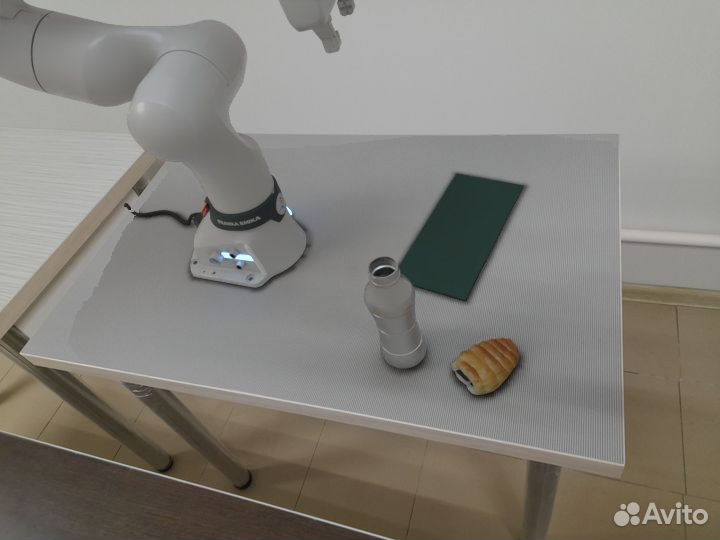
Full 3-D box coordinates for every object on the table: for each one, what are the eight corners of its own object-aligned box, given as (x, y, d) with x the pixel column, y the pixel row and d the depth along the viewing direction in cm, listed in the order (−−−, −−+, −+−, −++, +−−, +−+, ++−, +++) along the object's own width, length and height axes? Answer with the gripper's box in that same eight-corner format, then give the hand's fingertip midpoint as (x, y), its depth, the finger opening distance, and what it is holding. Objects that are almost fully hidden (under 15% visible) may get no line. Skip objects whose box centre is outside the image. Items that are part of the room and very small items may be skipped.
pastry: (497, 334, 76) (497, 319, 74) (532, 365, 72) (533, 350, 69) (447, 370, 74) (445, 356, 71) (480, 404, 70) (479, 391, 67)
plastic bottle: (425, 376, 74) (406, 288, 60) (379, 372, 76) (350, 287, 61) (430, 338, 78) (414, 247, 64) (386, 335, 80) (360, 246, 65)
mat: (465, 301, 81) (465, 299, 81) (391, 279, 87) (391, 278, 87) (523, 186, 96) (523, 185, 95) (456, 174, 101) (456, 173, 101)
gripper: (295, -120, 62) (334, -1, 71) (243, -55, 49) (299, 79, 58) (345, -137, 59) (378, -13, 69) (305, -75, 47) (352, 68, 56)
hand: (342, 30), depth 64 cm, fingers open, 8 cm apart
